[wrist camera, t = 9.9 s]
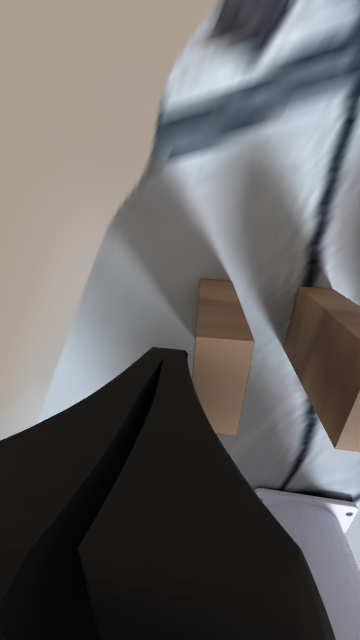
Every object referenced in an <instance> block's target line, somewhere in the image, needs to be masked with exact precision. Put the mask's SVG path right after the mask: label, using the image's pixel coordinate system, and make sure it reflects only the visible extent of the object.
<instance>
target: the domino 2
mask: <svg viewBox="0 0 360 640" xmlns="http://www.w3.org/2000/svg"><path fill="white" fill-rule="evenodd" d="M283 349H284V351H285V353H286V355H287V356H288V358H289V360H290V362H291V364H292V366H293V368H294V370H295V372H296V374H297V376H298V378H299V380H300V382H301V384H302V386H303V388H304V390H305V392H306V393H307V395H308V397H309V399H310V401H311V403H312V405H313V407H314V409H315V411H316V413H317V415H318V417H319V419H320V421H321V423H322V425H323V427H324V429H325V431H326V432H327V434H328V436H329V438H330V440H331V442H332V444H333V446H334V448H335V449H340V450H347V451H355V452H360V306H358V305H357V304H355V303H354V302H352V301H351V300H349V299H348V298H346V297H345V296H343V295H341V294H340V293H338V292H337V291H335V290H334V289H329V288H316V287H303V286H299V288H298V292H297V296H296V300H295V304H294V308H293V312H292V316H291V320H290V324H289V328H288V332H287V336H286V340H285V344H284V348H283Z"/></svg>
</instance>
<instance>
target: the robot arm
mask: <svg viewBox="0 0 360 640" xmlns="http://www.w3.org/2000/svg"><path fill="white" fill-rule="evenodd" d="M187 356H188V353H187V352H186V351H185V350H176V349H166V348H157V347H152V348H151V349H150V350H149V351H147V352H146V353H145V354H144V355H143V356H142V357H140V358H139V359H138V360H137V361H136V362H134V363H133V364H132V365H131V366H130V367H128V368H127V369H126V370H125V371H123V372H122V373H121V374H120V375H118V376H117V377H116V378H114V379H113V380H112V381H110V382H109V383H107V384H106V385H105V386H103V387H102V388H100V389H99V390H98V391H96V392H94V393H93V394H91V395H90V396H88V397H87V398H85V399H83V400H82V401H80V402H78V403H76V404H75V405H73V406H71V407H70V408H68V409H66V410H64V411H62V412H60V413H58V414H56V415H54V416H52V417H50V418H48V419H46V420H44V421H42V422H40V423H38V424H36V425H34V426H32V427H30V428H28V429H26V430H24V431H22V432H20V433H17V434H15V435H13V436H10V437H8V438H6V439H3V440H1V441H0V640H360V572H359V569H358V567H357V564H356V562H355V559H354V557H353V554H352V552H351V549H350V547H349V545H348V542H347V540H346V537H345V535H344V534H345V533H346V531H347V529H348V527H349V525H350V524H351V522H352V520H353V518H354V517H355V515H356V513H357V511H358V508H357V506H356V504H355V503H353V502H350V501H343V500H336V499H330V498H323V497H316V496H310V495H303V494H296V493H290V492H283V491H276V490H270V489H263V488H257V489H255V491H254V490H253V489H252V487H251V486H250V485H249V483H248V482H247V481H246V479H245V478H244V476H243V475H242V474H241V472H240V471H239V469H238V468H237V466H236V465H235V463H234V462H233V460H232V459H231V457H230V456H229V454H228V453H227V451H226V450H225V448H224V447H223V445H222V443H221V442H220V440H219V438H218V437H217V435H216V433H215V431H214V430H213V428H212V426H211V424H210V422H209V420H208V418H207V416H206V414H205V412H204V410H203V408H202V406H201V403H200V401H199V399H198V396H197V394H196V391H195V388H194V385H193V382H192V379H191V376H190V372H189V368H188V362H187Z"/></svg>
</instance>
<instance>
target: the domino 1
mask: <svg viewBox="0 0 360 640" xmlns="http://www.w3.org/2000/svg"><path fill="white" fill-rule="evenodd" d="M254 342H255V341H254V339H253V336H252V333H251V331H250V328H249V325H248V323H247V320H246V317H245V315H244V312H243V310H242V307H241V304H240V302H239V299H238V296H237V294H236V291H235V288H234V286H233V283H232V281H224V280H209V279H200V288H199V300H198V312H197V325H196V337H195V350H194V363H193V376H192V382H193V385H194V388H195V391H196V394H197V396H198V399H199V401H200V403H201V406H202V408H203V410H204V412H205V414H206V416H207V418H208V420H209V422H210V424H211V426H212V428H213V430H214V431H215V433H216V434H224V435H233V436H237V430H238V425H239V420H240V415H241V410H242V404H243V399H244V394H245V389H246V384H247V379H248V373H249V368H250V363H251V358H252V353H253V347H254Z"/></svg>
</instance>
